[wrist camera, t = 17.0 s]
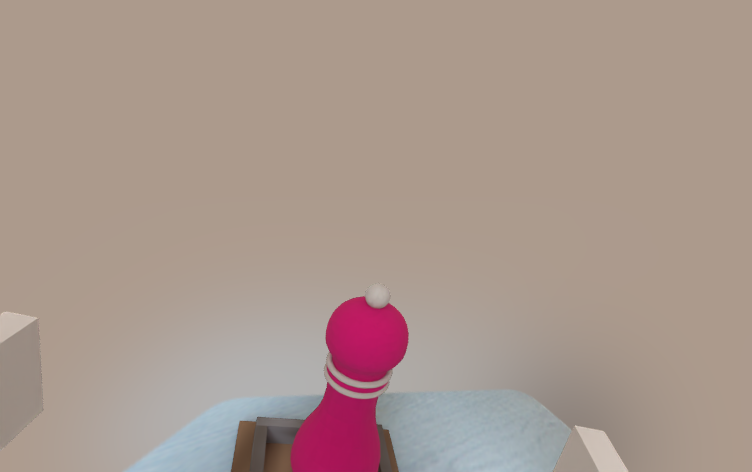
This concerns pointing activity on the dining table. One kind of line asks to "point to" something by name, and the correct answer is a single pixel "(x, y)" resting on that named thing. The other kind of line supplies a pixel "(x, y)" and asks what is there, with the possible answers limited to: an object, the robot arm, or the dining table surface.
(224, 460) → the dining table surface
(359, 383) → the pepper mill
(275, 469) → the cruet board
